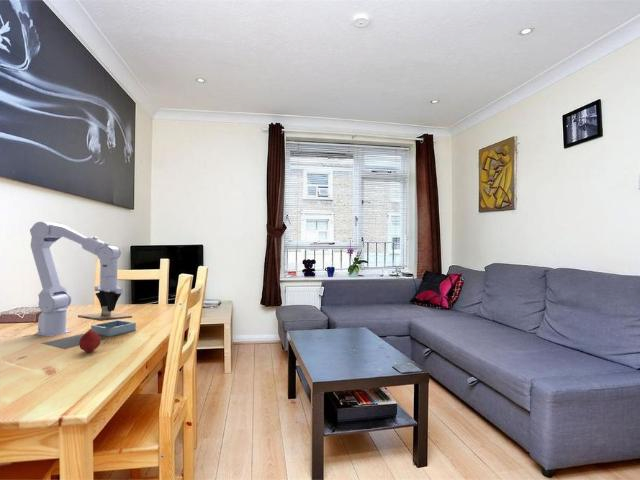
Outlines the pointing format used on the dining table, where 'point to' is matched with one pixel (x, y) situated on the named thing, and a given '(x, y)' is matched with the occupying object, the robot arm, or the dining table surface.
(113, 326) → the light blue tray
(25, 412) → the dining table surface
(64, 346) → the mat
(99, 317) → the lid
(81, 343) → the onion
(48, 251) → the robot arm
